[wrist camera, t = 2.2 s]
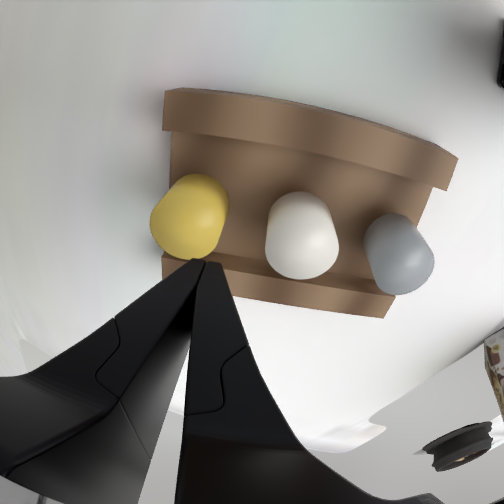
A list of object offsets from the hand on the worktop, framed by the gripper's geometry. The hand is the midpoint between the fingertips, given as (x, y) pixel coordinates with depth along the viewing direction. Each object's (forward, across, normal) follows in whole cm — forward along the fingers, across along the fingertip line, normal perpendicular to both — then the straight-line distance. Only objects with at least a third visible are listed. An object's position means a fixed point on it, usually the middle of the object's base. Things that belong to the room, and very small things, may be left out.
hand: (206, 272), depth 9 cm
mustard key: (+10, +2, +3) cm, 11 cm away
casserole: (+12, -61, +50) cm, 80 cm away
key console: (+13, -4, +3) cm, 14 cm away
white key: (+10, -4, +3) cm, 11 cm away
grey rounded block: (+10, -11, +3) cm, 15 cm away
